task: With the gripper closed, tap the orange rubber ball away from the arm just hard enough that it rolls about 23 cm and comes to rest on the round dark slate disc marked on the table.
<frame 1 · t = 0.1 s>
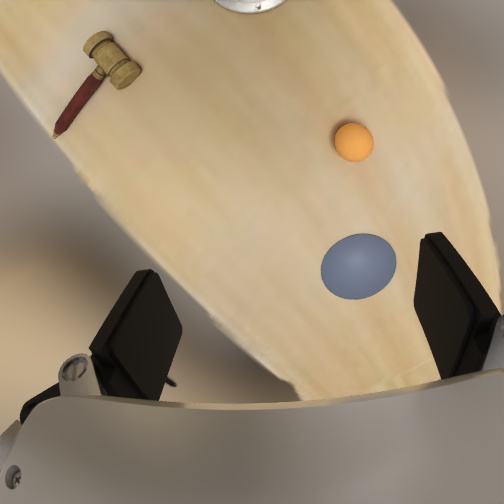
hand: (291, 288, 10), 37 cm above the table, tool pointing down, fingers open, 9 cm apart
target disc: (359, 268, 53), on the table
ball: (354, 142, 39), on the table
gavel: (88, 94, 41), on the table
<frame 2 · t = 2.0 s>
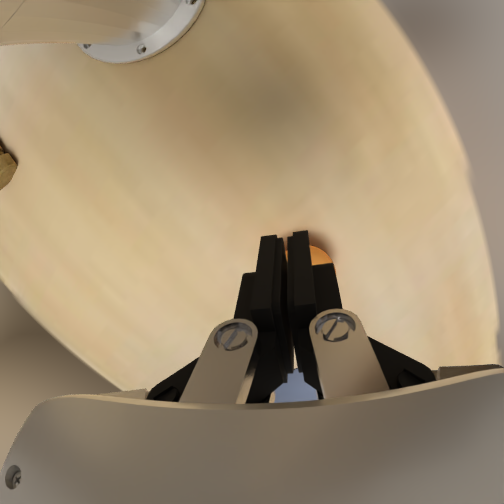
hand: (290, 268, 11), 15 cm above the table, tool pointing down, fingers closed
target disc: (318, 392, 40), on the table
ball: (304, 276, 26), on the table
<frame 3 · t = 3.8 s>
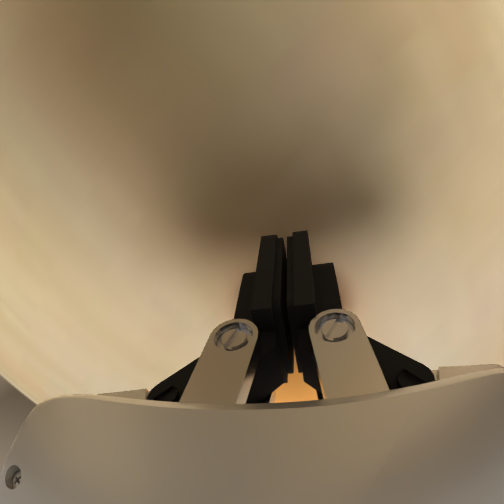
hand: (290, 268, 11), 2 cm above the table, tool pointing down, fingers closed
ball: (294, 355, 13), on the table, touching gripper
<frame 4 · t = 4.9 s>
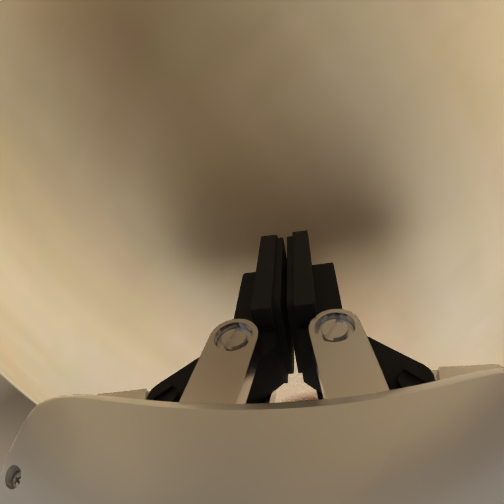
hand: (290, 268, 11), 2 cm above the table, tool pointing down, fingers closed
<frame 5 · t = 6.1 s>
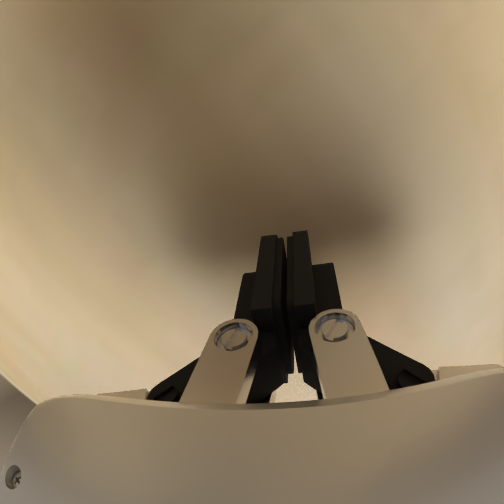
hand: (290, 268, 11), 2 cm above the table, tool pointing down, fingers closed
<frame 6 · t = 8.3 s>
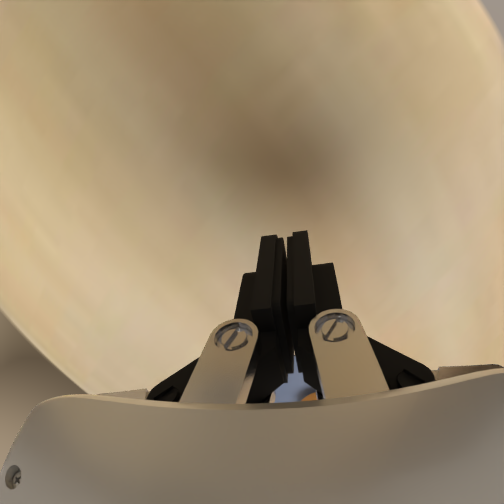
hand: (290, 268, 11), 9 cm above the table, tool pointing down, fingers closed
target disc: (321, 395, 29), on the table
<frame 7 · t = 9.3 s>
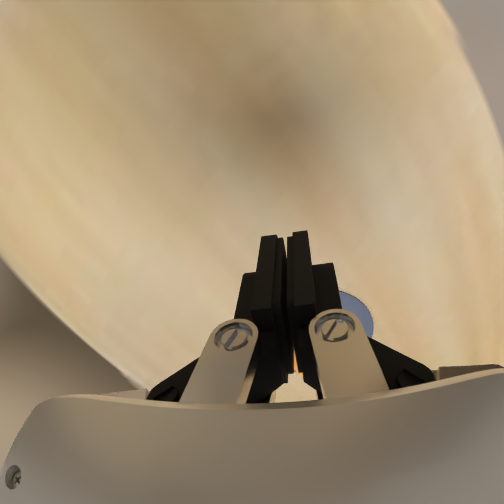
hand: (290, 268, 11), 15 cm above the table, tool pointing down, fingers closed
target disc: (313, 335, 34), on the table
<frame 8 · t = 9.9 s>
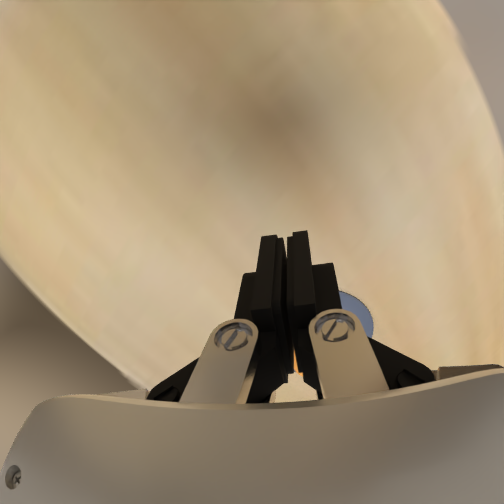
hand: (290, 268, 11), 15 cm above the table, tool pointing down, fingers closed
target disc: (313, 335, 34), on the table
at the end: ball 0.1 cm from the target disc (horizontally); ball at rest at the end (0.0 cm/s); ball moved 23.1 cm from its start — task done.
